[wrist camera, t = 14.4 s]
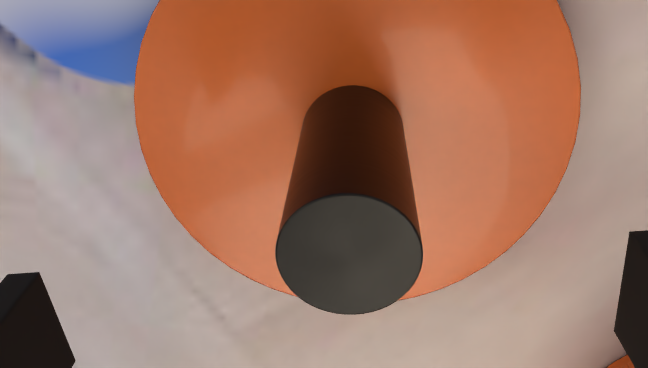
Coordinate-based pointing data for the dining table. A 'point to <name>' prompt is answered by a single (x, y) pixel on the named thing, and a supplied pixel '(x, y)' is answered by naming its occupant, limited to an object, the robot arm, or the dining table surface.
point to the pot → (622, 363)
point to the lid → (357, 136)
